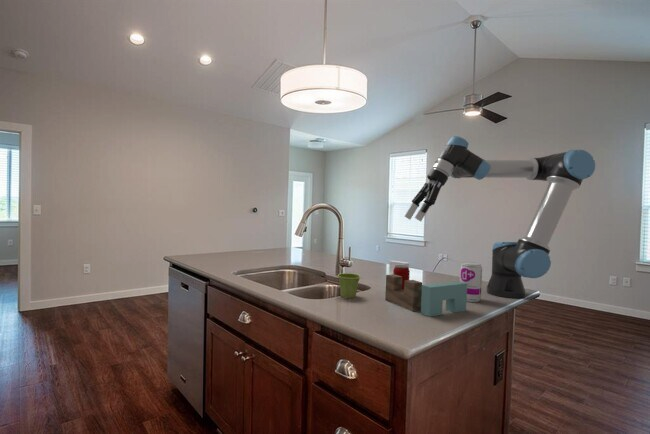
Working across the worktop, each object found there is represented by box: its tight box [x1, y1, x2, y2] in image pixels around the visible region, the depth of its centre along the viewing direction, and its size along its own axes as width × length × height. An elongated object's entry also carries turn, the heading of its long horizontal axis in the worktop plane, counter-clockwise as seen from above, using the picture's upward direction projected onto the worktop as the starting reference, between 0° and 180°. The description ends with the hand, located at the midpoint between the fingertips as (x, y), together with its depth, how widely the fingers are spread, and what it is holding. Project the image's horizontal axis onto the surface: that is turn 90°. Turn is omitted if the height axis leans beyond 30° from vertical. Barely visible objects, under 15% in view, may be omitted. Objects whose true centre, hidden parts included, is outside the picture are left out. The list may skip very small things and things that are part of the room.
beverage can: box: [393, 265, 411, 290], centre depth 147 cm, size 7×7×12 cm
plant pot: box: [337, 272, 362, 299], centre depth 141 cm, size 9×9×9 cm
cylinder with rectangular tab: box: [388, 260, 410, 275], centre depth 159 cm, size 9×9×12 cm
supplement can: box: [459, 261, 483, 303], centre depth 141 cm, size 8×8×15 cm
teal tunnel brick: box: [420, 280, 467, 317], centre depth 123 cm, size 18×4×10 cm, turn 118°
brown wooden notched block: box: [384, 274, 423, 312], centre depth 131 cm, size 4×16×10 cm, turn 28°
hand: (412, 218), depth 137 cm, fingers open, 13 cm apart
